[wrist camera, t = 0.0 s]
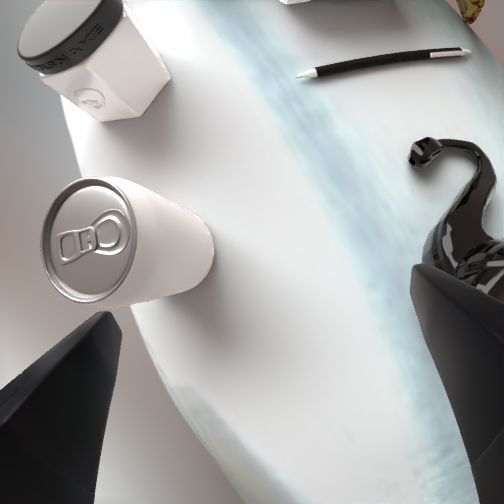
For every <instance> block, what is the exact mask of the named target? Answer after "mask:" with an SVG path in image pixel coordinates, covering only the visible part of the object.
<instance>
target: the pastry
mask: <svg viewBox="0 0 504 504" xmlns="http://www.w3.org/2000/svg"><path fill="white" fill-rule="evenodd" d="M456 1H457V4H458V6H459V9H460V12H461V15H462V17H463V21H464V23H468V22H469V24H472V23H473V22H474V21H475V20H476V18H477V16H479V13H480V12H481V8H482V7H483V5H484V2H485V0H456Z"/></svg>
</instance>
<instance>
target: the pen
mask: <svg viewBox="0 0 504 504" xmlns="http://www.w3.org/2000/svg"><path fill="white" fill-rule="evenodd" d="M471 52H472V51H471V49H465V50H464V49H463V48H462V47H458V48H440V49H428V50H417V51H408V52H399V53H392V54H385V55H378V56H372V57H366V58H360V59H354V60H349V61H344V62H339V63H334V64H329V65H325V66H320V67H316V68H313V69H310V70H308V71H306V72H304V73H302V74H300V75H298V76H297V77H296V78H312V77H321V76H325V75H329V74H334V73H339V72H343V71H348V70H353V69H358V68H364V67H369V66H375V65H381V64H387V63H394V62H401V61H409V60H417V59H426V58H436V57H447V56H462V55H465V54H466V53H471Z"/></svg>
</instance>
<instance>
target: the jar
mask: <svg viewBox="0 0 504 504" xmlns="http://www.w3.org/2000/svg"><path fill="white" fill-rule="evenodd" d="M17 50H18V54H19V56H20V58H21V59H22V60H24V61H25V63H26V64H28V65H29V66H30V67H32V68H33V69H35V70H38V71H39V77H40V80H41V81H43V82H44V83H46V84H47V85H49V86H50V87H51V88H53V89H54V90H55V91H57V92H58V93H60V94H61V95H63V96H64V97H65V98H67V99H68V100H70V101H71V102H72V103H74V104H75V105H77V106H78V107H79V108H81V109H82V110H84V111H85V112H86V113H88V114H89V115H91V116H92V117H93V118H95V119H96V120H98V121H99V122H103V121H111V120H118V119H127V118H136V117H141V116H142V115H143V113H144V112H145V110H146V109H147V108H148V106H149V105H150V104H151V102H152V101H153V100H154V99H155V97H156V96H157V95H158V93H159V92H160V91H161V90H162V88H163V87H164V86H165V85H166V83H167V82H168V81H169V80H170V78H171V77H170V74H169V72H168V70H167V68H166V66H165V64H164V62H163V60H162V58H161V56H160V54H159V52H158V50H157V48H156V47H155V45H154V44H153V42H152V41H151V39H150V38H149V36H148V35H147V33H146V32H145V30H144V29H143V27H142V26H141V25H140V23H139V22H138V20H137V19H136V17H135V16H134V14H133V13H132V11H131V10H130V9H129V7H128V6H127V4H126V3H125V1H124V0H45V1H44V2H43V3H42V4H41V5H40V6H39V7H38V8H37V10H36V11H35V12H34V13H33V14H32V16H31V17H30V18H29V20H28V21H27V23H26V25H25V26H24V28H23V30H22V32H21V35H20V37H19V40H18V46H17Z"/></svg>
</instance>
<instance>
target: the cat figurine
mask: <svg viewBox="0 0 504 504" xmlns="http://www.w3.org/2000/svg"><path fill="white" fill-rule="evenodd" d="M442 150H458V151H464V152H467V153H468V154H470V155H471V156H472V158H473V159H474V160H475V170H474V173H473V175H472V177H471V179H470V180H469V181H468V182H467V183H466V185H465V186H464V187H463V188H462V189H461V191H460V192H459V194H458V195H457V196H456V198H455V199H454V201H453V202H452V203H451V205H450V206H449V208H448V209H447V210H446V212H445V213H444V214H443V215H442V217H441V218H440V219H439V221H438V222H437V223H436V225H435V226H434V227H433V229H432V230H431V232H430V233H429V235H428V237H427V240H426V242H425V245H424V248H423V255H422V263H428V264H430V265H432V266H434V267H436V268H438V269H440V270H442V271H444V272H446V273H448V274H450V275H452V276H454V277H456V278H457V279H459V280H461V281H463V282H465V283H467V284H469V285H471V286H473V287H475V288H477V289H479V290H480V291H482V292H484V293H486V294H488V295H490V296H492V297H493V298H495V299H497V300H499V301H501V302H503V303H504V239H493V238H492V237H490V236H488V235H487V234H486V233H485V231H484V228H483V215H484V212H485V210H486V208H487V206H488V204H489V202H490V200H491V198H492V196H493V195H494V193H495V189H496V183H497V178H496V174H495V171H494V168H493V166H492V164H491V162H490V160H489V158H488V157H487V155H486V154H485V153H484V152H483V151H482V150H481V149H480V148H479V147H478V146H477V145H476V144H474V143H472V142H468V141H462V140H455V139H438V140H436V139H433V138H431V137H426V138H423V139H421V140H419V141H416V142H414V143H413V145H412V147H411V150H410V152H409V155H408V157H407V159H408V161H409V162H410V163H411V164H412V166H413V167H415V168H416V169H418V170H421V169H424V168H426V167H427V166H428V165H429V163H430V162H431V161H432V160H434V159H435V158H437V157H438V156H439V155H440V153H441V151H442Z"/></svg>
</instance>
